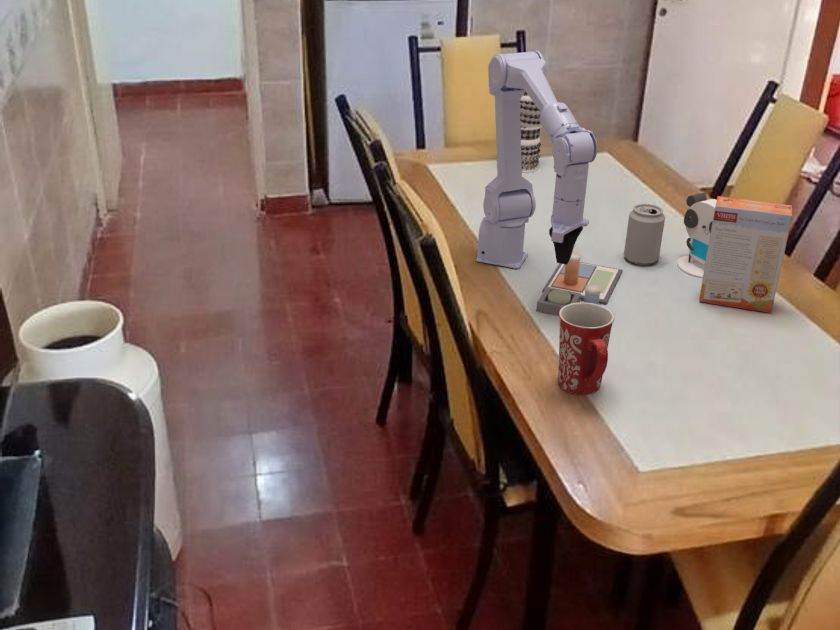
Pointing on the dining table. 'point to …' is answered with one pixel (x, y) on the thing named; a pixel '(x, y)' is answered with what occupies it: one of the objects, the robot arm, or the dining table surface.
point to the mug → (583, 346)
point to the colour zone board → (587, 280)
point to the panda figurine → (697, 233)
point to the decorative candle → (529, 134)
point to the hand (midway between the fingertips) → (562, 262)
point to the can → (644, 234)
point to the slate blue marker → (592, 294)
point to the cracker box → (745, 253)
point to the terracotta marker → (572, 269)
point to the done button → (559, 297)
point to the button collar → (554, 307)
